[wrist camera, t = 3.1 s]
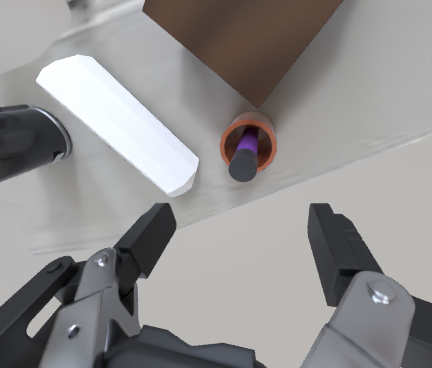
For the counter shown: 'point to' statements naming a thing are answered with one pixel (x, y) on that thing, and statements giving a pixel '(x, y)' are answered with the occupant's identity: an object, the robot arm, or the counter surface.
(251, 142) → the marker
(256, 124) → the pen cup
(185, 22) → the shelf
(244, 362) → the robot arm
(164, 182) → the crystal
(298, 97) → the counter surface
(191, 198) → the counter surface
